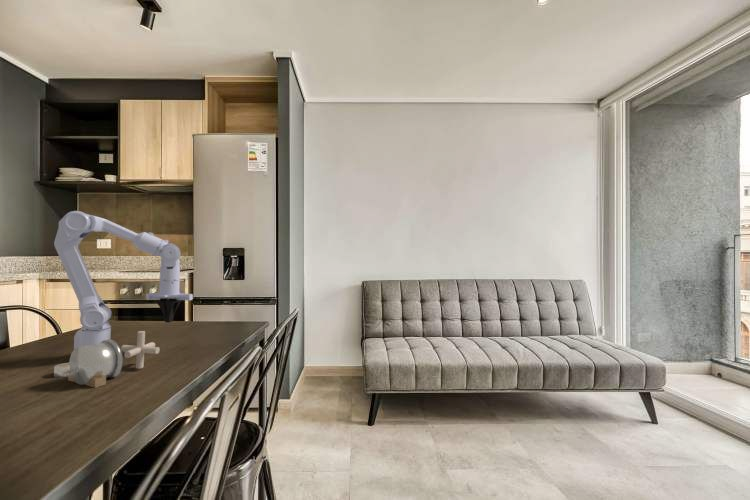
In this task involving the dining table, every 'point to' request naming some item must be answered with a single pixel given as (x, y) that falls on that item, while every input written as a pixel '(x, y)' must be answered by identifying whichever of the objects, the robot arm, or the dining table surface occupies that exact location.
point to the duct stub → (95, 363)
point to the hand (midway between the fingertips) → (168, 321)
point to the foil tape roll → (61, 370)
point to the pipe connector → (140, 349)
